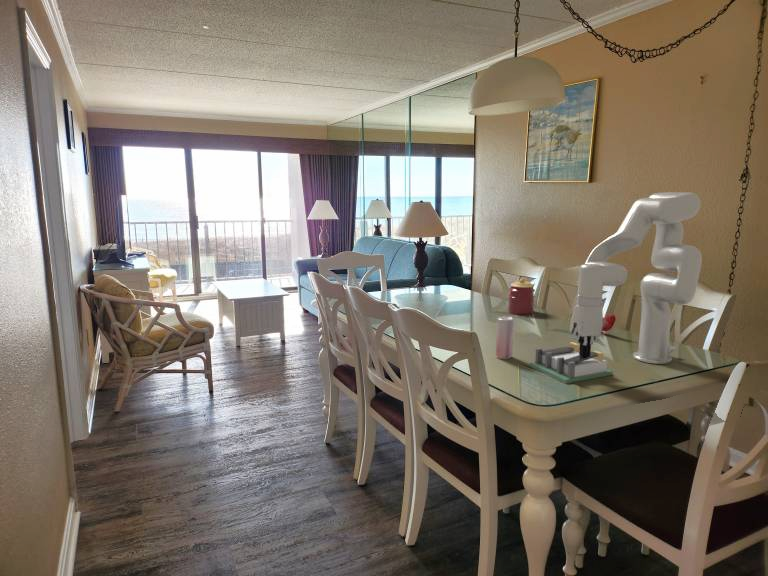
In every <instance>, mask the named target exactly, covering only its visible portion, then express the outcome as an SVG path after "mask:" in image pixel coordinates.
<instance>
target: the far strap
mask: <svg viewBox="0 0 768 576" xmlns="http://www.w3.org/2000/svg"><path fill="white" fill-rule="evenodd" d="M572 351H574V349H573V348H570V347H569V346H563V347H557V348H552V349H545V350H542V351H541V354H543V355H545V353H548V352H551V353H552V355H555V354H561V353H567V352H572Z"/></svg>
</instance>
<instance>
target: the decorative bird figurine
mask: <svg viewBox="0 0 768 576" xmlns="http://www.w3.org/2000/svg"><path fill="white" fill-rule="evenodd" d="M615 322H617V319H616V316H615V315H614V314H613V313H611V314H608V315H606V316H604V317H603V326H602V332H601V334H600V335H603V336H607V334H606V333H605V332H608V331H610V330H611V329H612V328H613V327H614V325H615Z"/></svg>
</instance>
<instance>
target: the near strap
mask: <svg viewBox="0 0 768 576" xmlns="http://www.w3.org/2000/svg"><path fill="white" fill-rule="evenodd" d="M597 356H598V354H596V353H593V352H592V350H591V351H590V357H584V356H581V355H578V356H575V357H572V358H569V359H566V360H563V363H564V364H567V365H568V362H575V364H576V363H579V362H582V361H585V360H588V359H591V358H594V357H597Z"/></svg>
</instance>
